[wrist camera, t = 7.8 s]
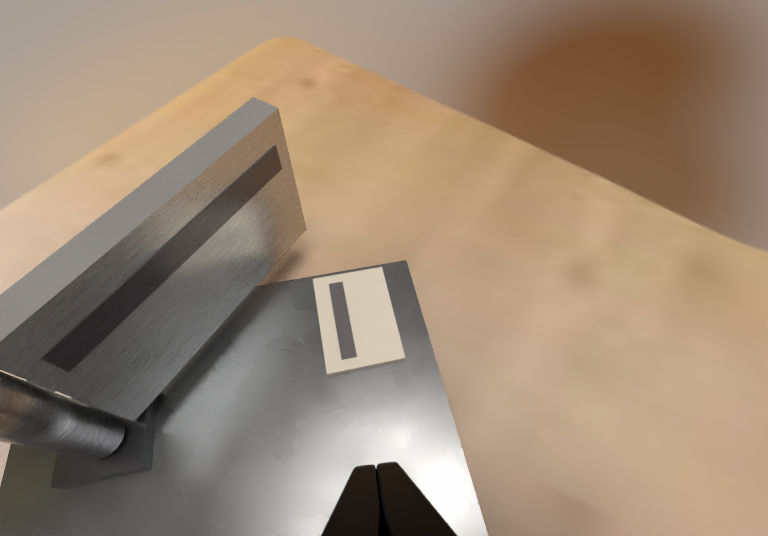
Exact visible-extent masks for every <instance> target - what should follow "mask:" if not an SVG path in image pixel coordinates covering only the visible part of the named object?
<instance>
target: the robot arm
mask: <svg viewBox="0 0 768 536" xmlns="http://www.w3.org/2000/svg"><path fill="white" fill-rule="evenodd" d="M321 536H457V534H456V533H455V532H454V531H453V529H452V528H451V527H450V526H449V525H448V523H447V522H446V521H445V520H444V518H443V517H442V516H441V515H440V514H439V512H438V511H437V510H436V509H435V507H434V506H433V505H432V504H431V503H430V501H429V500H428V499H427V498H426V496H425V495H424V494H423V493H422V492H421V490H420V489H419V488H418V487H417V486H416V484H415V483H414V482H413V481H412V479H411V478H410V477H409V476H408V475H407V473H406V472H405V471H404V470H403V468H402V467H401V466H400V465H399V464H398V463H397V462H386V463H379V464H378V465H377V466H376V467H375V465H373V464H370V465H361V466H356V467H355V468H354V469H353V471H352V473H351V475H350V477H349V479H348V481H347V483H346V485H345V487H344V489H343V491H342V493H341V495H340V497H339V499H338V501H337V504H336V506H335V508H334V510H333V512H332V514H331V516H330V518H329V520H328V522H327V524H326V526H325V528H324V530H323V532H322V534H321Z"/></svg>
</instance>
